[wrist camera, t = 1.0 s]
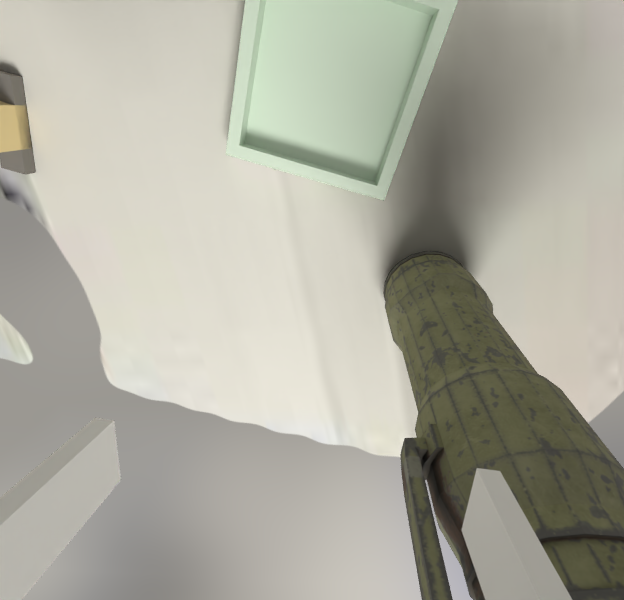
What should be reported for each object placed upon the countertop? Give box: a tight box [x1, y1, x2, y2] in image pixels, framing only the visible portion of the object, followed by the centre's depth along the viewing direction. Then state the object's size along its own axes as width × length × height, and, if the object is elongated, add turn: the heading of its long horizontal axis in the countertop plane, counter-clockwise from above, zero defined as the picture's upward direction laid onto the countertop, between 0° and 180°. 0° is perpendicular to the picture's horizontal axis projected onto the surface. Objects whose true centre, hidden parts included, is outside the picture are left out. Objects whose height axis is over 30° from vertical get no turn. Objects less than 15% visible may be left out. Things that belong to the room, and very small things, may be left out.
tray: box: [226, 0, 458, 201], centre depth 27 cm, size 14×14×2 cm
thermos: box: [384, 252, 624, 600], centre depth 21 cm, size 9×12×35 cm
